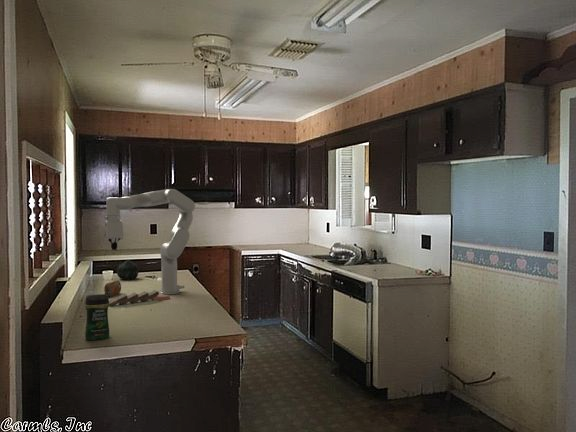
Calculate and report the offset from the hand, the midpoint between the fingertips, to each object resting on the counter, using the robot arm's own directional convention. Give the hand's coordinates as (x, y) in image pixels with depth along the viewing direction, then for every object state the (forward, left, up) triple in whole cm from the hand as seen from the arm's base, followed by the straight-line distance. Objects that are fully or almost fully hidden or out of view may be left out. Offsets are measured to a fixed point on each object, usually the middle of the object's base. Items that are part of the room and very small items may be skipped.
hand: (114, 249), depth 287 cm
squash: (-31, -60, -29) cm, 73 cm away
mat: (+1, +21, -29) cm, 36 cm away
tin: (-2, -10, -29) cm, 31 cm away
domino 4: (-7, +21, -27) cm, 35 cm away
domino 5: (-14, +21, -27) cm, 37 cm away
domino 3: (-1, +21, -27) cm, 35 cm away
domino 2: (+5, +21, -27) cm, 35 cm away
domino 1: (+11, +21, -27) cm, 36 cm away
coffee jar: (+35, +76, -29) cm, 89 cm away
